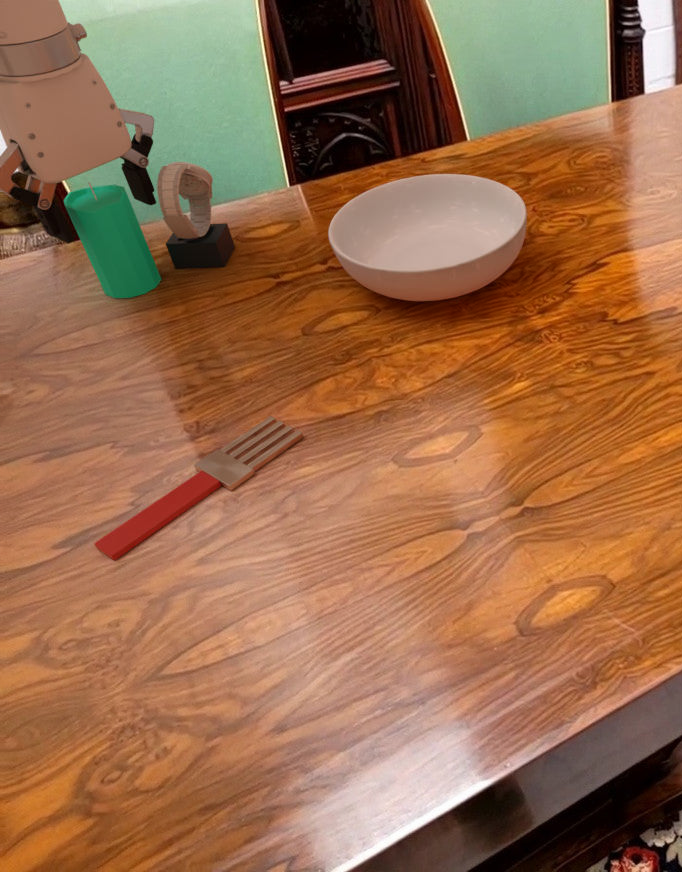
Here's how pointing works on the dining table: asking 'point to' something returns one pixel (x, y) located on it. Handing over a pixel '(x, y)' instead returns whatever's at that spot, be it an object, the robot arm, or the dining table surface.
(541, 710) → the dining table surface
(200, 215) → the watch
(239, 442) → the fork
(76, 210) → the candle
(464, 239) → the serving bowl
